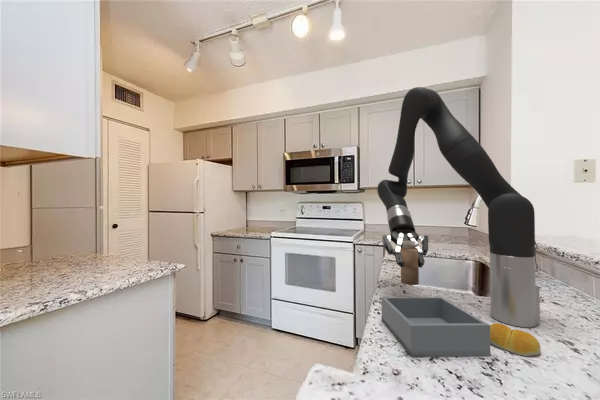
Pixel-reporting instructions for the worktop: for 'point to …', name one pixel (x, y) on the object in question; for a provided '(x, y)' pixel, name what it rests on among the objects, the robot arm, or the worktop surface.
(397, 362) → the worktop surface
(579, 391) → the worktop surface
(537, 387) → the worktop surface
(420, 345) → the bin
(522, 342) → the bread roll
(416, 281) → the pepper mill
